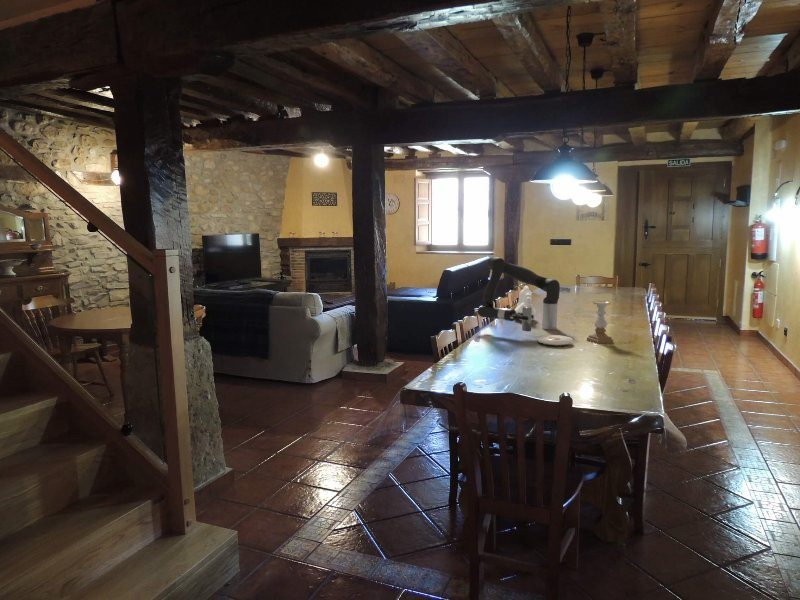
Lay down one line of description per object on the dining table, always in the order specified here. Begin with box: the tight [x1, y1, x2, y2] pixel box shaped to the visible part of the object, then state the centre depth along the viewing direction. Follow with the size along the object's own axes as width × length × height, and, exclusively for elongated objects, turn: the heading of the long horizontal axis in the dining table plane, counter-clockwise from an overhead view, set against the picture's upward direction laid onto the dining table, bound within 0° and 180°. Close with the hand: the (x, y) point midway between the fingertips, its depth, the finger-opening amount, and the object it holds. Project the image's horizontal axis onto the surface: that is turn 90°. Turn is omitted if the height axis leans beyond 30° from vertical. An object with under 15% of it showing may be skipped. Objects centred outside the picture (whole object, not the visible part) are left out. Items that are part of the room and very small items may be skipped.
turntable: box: [537, 334, 573, 346], centre depth 329 cm, size 20×20×2 cm
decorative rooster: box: [514, 285, 537, 321], centre depth 399 cm, size 25×16×25 cm, turn 164°
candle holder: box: [586, 300, 614, 345], centre depth 333 cm, size 11×11×24 cm
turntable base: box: [543, 343, 568, 347], centre depth 330 cm, size 14×14×2 cm
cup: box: [521, 307, 532, 332], centre depth 341 cm, size 6×6×14 cm
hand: (530, 317), depth 339 cm, fingers closed on cup, 5 cm apart
